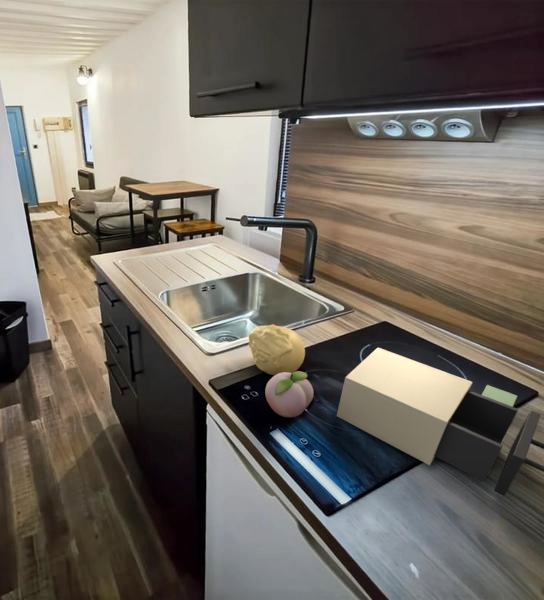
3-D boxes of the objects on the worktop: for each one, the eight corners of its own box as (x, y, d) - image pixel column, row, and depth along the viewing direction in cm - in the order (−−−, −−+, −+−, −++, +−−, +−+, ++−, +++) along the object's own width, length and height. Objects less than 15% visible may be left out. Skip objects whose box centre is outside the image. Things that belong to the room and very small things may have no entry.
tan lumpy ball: (239, 360, 90) (242, 323, 86) (279, 349, 94) (283, 312, 89) (269, 388, 81) (274, 347, 76) (312, 373, 84) (319, 334, 80)
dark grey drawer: (566, 468, 58) (589, 432, 55) (553, 522, 51) (579, 484, 48) (421, 405, 72) (433, 373, 69) (395, 440, 65) (406, 407, 62)
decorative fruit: (277, 392, 79) (282, 354, 75) (315, 411, 74) (322, 371, 69) (254, 415, 74) (258, 375, 69) (292, 437, 68) (299, 395, 64)
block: (508, 413, 70) (517, 395, 68) (503, 424, 68) (512, 406, 66) (479, 402, 74) (487, 384, 72) (473, 412, 71) (481, 394, 69)
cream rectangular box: (455, 422, 69) (472, 381, 65) (429, 465, 61) (447, 422, 57) (367, 383, 80) (377, 347, 76) (336, 416, 72) (345, 377, 68)
